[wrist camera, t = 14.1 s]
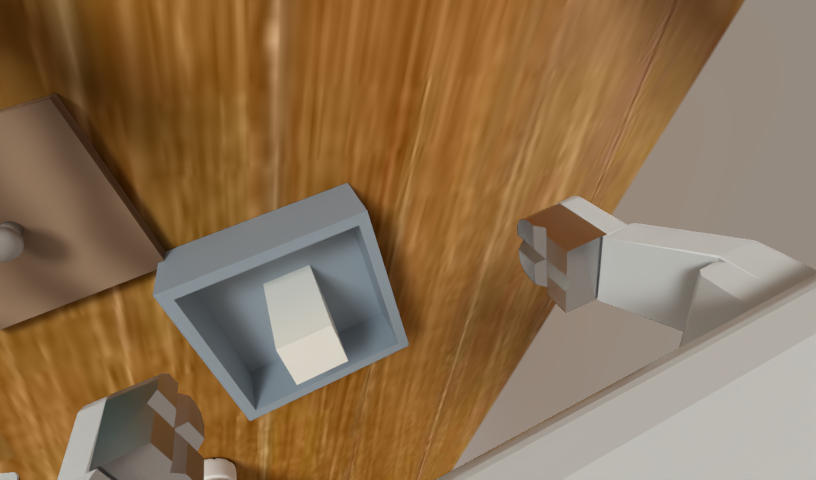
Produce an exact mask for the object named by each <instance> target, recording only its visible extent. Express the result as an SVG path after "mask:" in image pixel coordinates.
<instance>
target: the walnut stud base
mask: <svg viewBox="0 0 816 480" xmlns="http://www.w3.org/2000/svg"><path fill="white" fill-rule="evenodd" d="M165 252H166V251H165V250H164V248H163V247H162V246H161V244H160V243H159V241H158V240H157V238H156V237H155V235H154V234H153V233H152V231H151V230H150V228H149V227H148V225H147V224H146V222H145V221H144V219H143V218H142V217H141V215H140V214H139V212H138V211H137V209H136V208H135V206H134V205H133V204H132V202H131V201H130V199H129V198H128V196H127V195H126V193H125V192H124V191H123V189H122V188H121V186H120V185H119V183H118V182H117V180H116V179H115V178H114V176H113V175H112V173H111V172H110V170H109V169H108V167H107V166H106V164H105V163H104V162H103V160H102V159H101V157H100V156H99V154H98V153H97V151H96V150H95V149H94V147H93V146H92V144H91V143H90V141H89V140H88V138H87V137H86V136H85V134H84V133H83V131H82V130H81V128H80V127H79V125H78V124H77V123H76V121H75V120H74V118H73V117H72V115H71V114H70V112H69V111H68V109H67V108H66V107H65V105H64V104H63V102H62V101H61V99H60V98H59V96H58V95H57V94H53V95H49V96H46V97H43V98H39V99H36V100H32V101H29V102H25V103H22V104H18V105H15V106H11V107H8V108H5V109H1V110H0V330H1V329H4V328H6V327H9V326H11V325H14V324H17V323H19V322H22V321H24V320H27V319H29V318H32V317H35V316H37V315H40V314H42V313H45V312H48V311H50V310H53V309H55V308H58V307H61V306H63V305H66V304H68V303H71V302H74V301H76V300H79V299H81V298H84V297H87V296H89V295H92V294H94V293H97V292H100V291H102V290H105V289H107V288H110V287H113V286H115V285H118V284H120V283H123V282H126V281H128V280H131V279H133V278H136V277H139V276H141V275H144V274H146V273H149V272H152V271H154V270H157V267H158V263H160V262H162V261H164V259H165Z"/></svg>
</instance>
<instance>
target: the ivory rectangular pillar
mask: <svg viewBox="0 0 816 480" xmlns="http://www.w3.org/2000/svg"><path fill="white" fill-rule="evenodd" d="M263 286H264V292H265V297H266V302H267V307H268V312H269V317H270V322H271V327H272V332H273V338H274V343H275V348H276V351H277V353H278V354H279V356H280V358H281V359H282V361H283V363H284V364H285V366H286V368H287V369H288V371H289V373H290V374H291V376H292V378H293V379H294V381H295V383H296V384H297V385H298V384H300V383H303V382H305V381H307V380H309V379H311V378H313V377H315V376H318V375H320V374H322V373H324V372H326V371H328V370H330V369H332V368H335V367H337V366H339V365H341V364H343V363H345V362H347V361H348V359H347V356H346V354H345V351H344V348H343V346H342V343H341V340H340V338H339V335H338V333H337V330H336V327H335V325H334V322H333V319H332V317H331V314H330V311H329V309H328V306H327V304H326V301H325V298H324V296H323V294H322V292H321V289H320V287H319V285H318V283H317V280H316V278H315V276H314V274H313V271H312V269H311V267H310V265H308V266H305V267H303V268H301V269H298V270H296V271H293V272H291V273H288V274H286V275H284V276H281V277H279V278H276V279H274V280H271V281H269V282H267V283H264V284H263Z"/></svg>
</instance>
